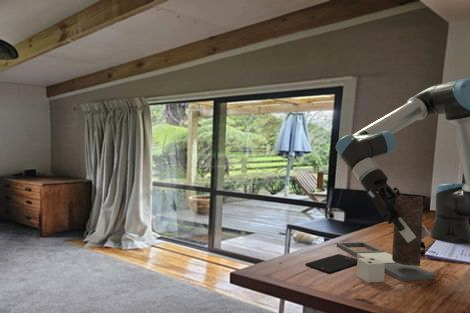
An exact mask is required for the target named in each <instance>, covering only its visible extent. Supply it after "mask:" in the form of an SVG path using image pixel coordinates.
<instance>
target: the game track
mask: <svg viewBox="0 0 470 313" xmlns="http://www.w3.org/2000/svg"><path fill="white" fill-rule="evenodd" d="M337 246H338V247H337ZM336 247H337V248H339V247H340V248H339V249H342V250H344V251H345V252H347V253H349V254H350V255H353V256H354V257H356V258H357V259H358V258H375V259H377V260H379V261H381V262H383V263H385V268H384V274H385V273H386V274H387V275H389V276H391V277H392V278H394V279H396V280H398V281H401V282H406V281H407V282H409V281H423V280H424V281H425V280H436V274H435V273H432V272H431V271H428V270H426V269H423V268H421V267H420V266H415V265H404V264H400V263H397V262H394V261H393V260H392V254H391V253H388V252H385V251H384V250H382V249H379V248H377V247H375V246H373V245H371V244H368V243H367V242H364V241H354V242H353V241H352V242H350V241H349V242H336ZM350 247H364V248H366V249H369V250H370V251H369V250H367V251H363V250H362V251H355V250H354V249H351V248H350Z"/></svg>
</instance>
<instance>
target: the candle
mask: <svg viewBox="0 0 470 313" xmlns="http://www.w3.org/2000/svg"><path fill="white" fill-rule="evenodd" d="M394 209H395V211H396V213H397V215H398V218H399V217H401V218H402V219H403V221H404V222H405V223H406V224H407V226H408V227H409V228H410V230H411V231H412V232H413V233H414V235H415V236H416V238H415V239H413V240H412V241H410V242H409V243H408V242H407V241H406V240H405V238H404V237H403V236H402V235H401V233H400V232H399V231H398V229H397V228H396V227H395V225H394V224H393V236H392V252H391V253H392V254H391V255H392V260H393V261H394V262H397V263H400V264H404V265H415V266H417V267H420V266H421V256H422V255H421V250H422V248H421V241H422V238H421V236H422V224H423V212H424V197H423V196H415V195H414V196H413V195H410V196H408V195H403V196H399V197H397V198H396V202H395V206H394Z"/></svg>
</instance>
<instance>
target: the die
mask: <svg viewBox="0 0 470 313" xmlns="http://www.w3.org/2000/svg"><path fill="white" fill-rule="evenodd" d="M356 259H357V265H356V276H357V277H358V278H359V279H361V280H362V281H364V282H366V283H380V282H382V283H383V282H384V281H385V272H384V268H385V263H383V262H381V261H379V260H377V259H375V258H358V257H357V258H356Z"/></svg>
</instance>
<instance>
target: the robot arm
mask: <svg viewBox="0 0 470 313" xmlns="http://www.w3.org/2000/svg"><path fill="white" fill-rule="evenodd" d="M435 115H445V120H446V122H448V123H450V124H452V130H453V133H454V138H455V142H456V146H457V151H458V156H459V160H460V163H461V168H462V172H463V177H464V182H465V183H440V184H438V185H437V187H436V193H435V195H436V196H435V219H434V221H433V224H432V227H431V228H430V230H428V229H427V228H426V226H425V225H424V224H423V223H422V236H421V240H424V239H426V238H427V237H428V236H429V237H430V238H432V239H435V240H439V241H443V242H448V243H455V244H470V224H469V218H470V77H469V78H461V79H457V80H452V81H448V82H443V83H438V84H435V85H432V86H429V87H428V88H426V89H423V90H422V91H420V92H419V93H417V94H415V95H413V96H412V97H410V98H409V99H407V101H406V103H404V104H403V105H402V106H399V107H398V108H396V109H394V110H393V111H391V112H390V113H388V114H386V115H385V116H383V117H381V118H379V119H377V120H376V121H374V122H373V123H370V124H369V125H367V126H366V127H363V128H361V129H360V130H358V131H357V132H354V133H353V134H348V135H344V136H343V137H341V138H340V139H339V140H338V141H337V142H336V145H335V150H336V152H337V154H338V155H339V157H340V159H341V160H342V161H343V162H344V164H346V166H347V167H348V168H349V169H350V172H352V174H353V175H354V176H355V177H354V178H356V179H357V181H359V182H360V184H361V187H363V189H365V191H366V192H367V193H366V195H367V197H368V198H369V199H370V200H371V201H372V202H373V204H374V206H375V208H376V209H377V210H378V212H379V213H380V216H381V217H382V219H383V220H384V221H385V222H387V223H388V224H389V225H391V224H393V226H394V225H395V227H396V228H397V229H398V231H399V232H400V233H401V235H402V236H403V237H404V238H405V240H406V241H407V242H408V243H409V242H410V241H412V240H413V239H415V238H416V236H415V235H414V233H413V232H412V231H411V230H410V228H409V227H408V226H407V224H406V223H405V222H404V221H403V219H402V218H401V217H399V218H398V215H397V213H396V211H395V202H396V198H397V197H399V196H404V195H403V194H402V193H401V191H400V189H399V188H398V187H396V186H395V187H393V188H392V187H391V186H390V185H389V184H388V176H387V175H386V174H385V172H384V171H383V169H380V166H379V165H378V164H377V162H376V161H375V160H374V159H375V158H377V157H381V156H384V155H387V154H389V153H391V152H393V151H394V150H396V148H397V140H396V137H395V135H394V134H395V133H397V132H399V131H400V130H403V129H404V128H406V127H408V126H409V125H411V124H413V123H414V122H415V121H417V120H418V121H421V120H424V119H426V118H427V117H430V116H435Z"/></svg>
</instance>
